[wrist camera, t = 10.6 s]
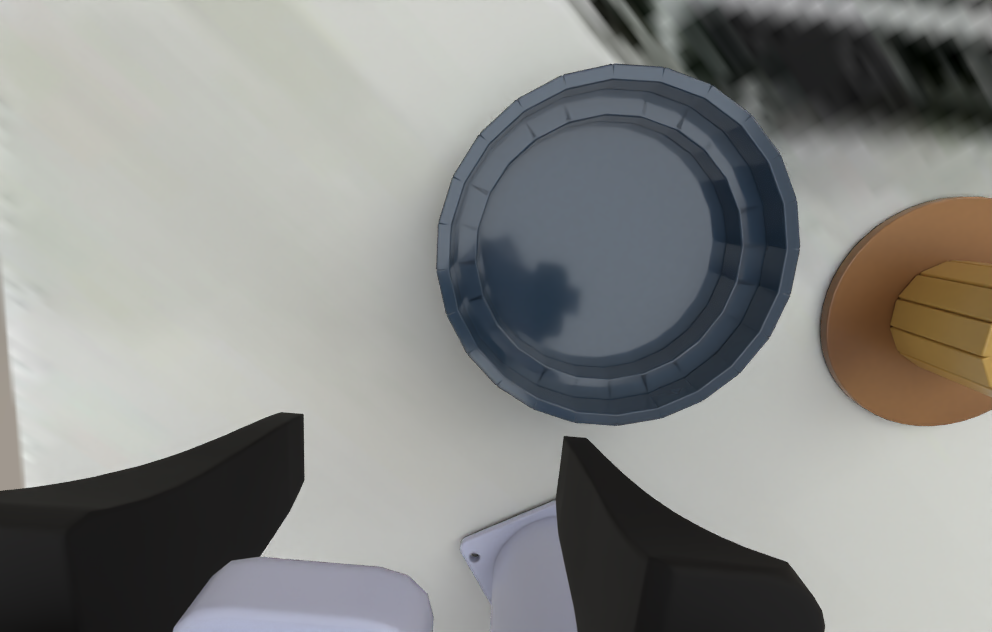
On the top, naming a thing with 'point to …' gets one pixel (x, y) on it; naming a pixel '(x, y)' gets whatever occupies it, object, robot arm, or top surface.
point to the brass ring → (948, 323)
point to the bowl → (617, 244)
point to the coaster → (870, 304)
